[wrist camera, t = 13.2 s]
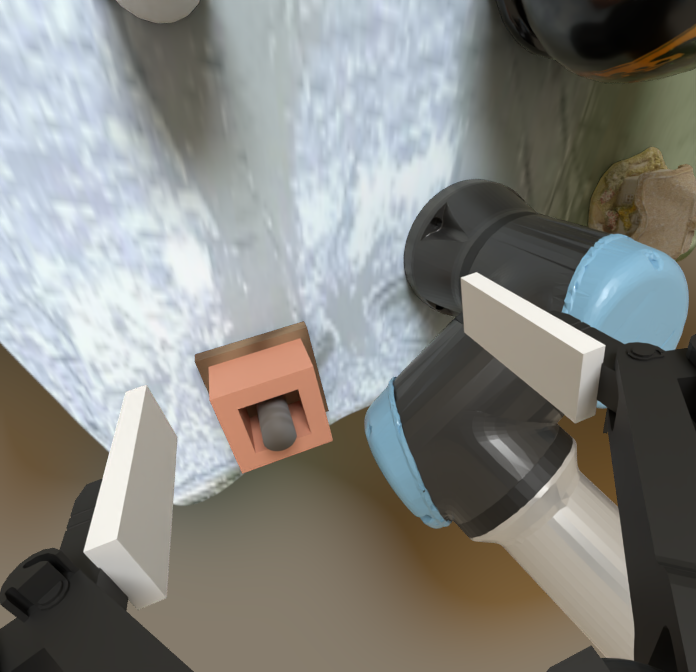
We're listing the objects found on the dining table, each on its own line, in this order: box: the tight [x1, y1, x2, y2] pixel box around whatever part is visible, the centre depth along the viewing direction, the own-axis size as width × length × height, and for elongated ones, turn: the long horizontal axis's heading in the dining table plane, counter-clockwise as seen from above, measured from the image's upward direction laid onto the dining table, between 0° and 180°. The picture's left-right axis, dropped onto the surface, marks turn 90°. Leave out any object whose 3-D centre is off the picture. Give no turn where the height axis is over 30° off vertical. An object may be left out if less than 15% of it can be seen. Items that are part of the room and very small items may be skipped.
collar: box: [208, 338, 333, 473], centre depth 44 cm, size 10×10×6 cm
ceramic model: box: [588, 147, 696, 259], centre depth 48 cm, size 14×11×10 cm
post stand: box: [195, 321, 329, 451], centre depth 44 cm, size 12×12×10 cm
